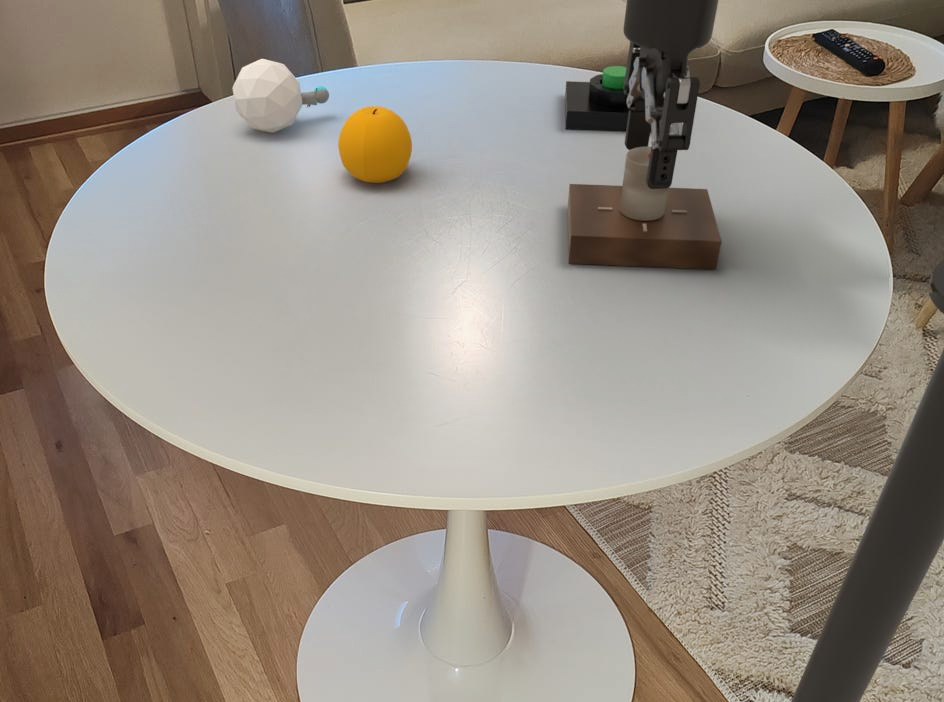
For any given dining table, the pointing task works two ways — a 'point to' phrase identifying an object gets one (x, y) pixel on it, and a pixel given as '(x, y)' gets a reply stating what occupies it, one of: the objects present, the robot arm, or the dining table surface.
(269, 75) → the perfume bottle
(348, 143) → the orange fruit
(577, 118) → the block
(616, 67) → the green push button
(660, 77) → the robot arm
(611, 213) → the dimmer panel
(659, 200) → the dimmer knob
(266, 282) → the dining table surface
